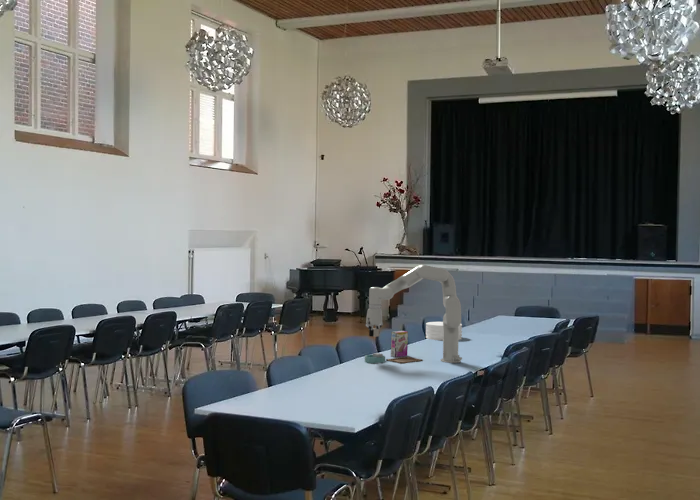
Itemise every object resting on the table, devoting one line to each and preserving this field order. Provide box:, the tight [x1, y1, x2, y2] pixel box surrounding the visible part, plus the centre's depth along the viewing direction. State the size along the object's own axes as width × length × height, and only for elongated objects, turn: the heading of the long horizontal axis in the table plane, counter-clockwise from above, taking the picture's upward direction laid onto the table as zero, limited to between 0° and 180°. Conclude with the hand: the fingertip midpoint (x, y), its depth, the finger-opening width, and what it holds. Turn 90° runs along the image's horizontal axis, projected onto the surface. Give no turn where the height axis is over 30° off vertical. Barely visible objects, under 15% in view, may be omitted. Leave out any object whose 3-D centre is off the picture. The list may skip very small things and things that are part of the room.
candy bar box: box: [390, 330, 409, 358], centre depth 492 cm, size 11×5×16 cm, turn 130°
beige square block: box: [372, 327, 380, 338], centre depth 471 cm, size 4×4×5 cm
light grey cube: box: [372, 352, 384, 357], centre depth 468 cm, size 4×4×5 cm
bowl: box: [364, 354, 386, 364], centre depth 470 cm, size 12×12×4 cm
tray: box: [385, 356, 423, 364], centre depth 473 cm, size 14×18×1 cm
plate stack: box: [425, 321, 463, 341], centre depth 587 cm, size 28×28×12 cm
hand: (374, 335), depth 471 cm, fingers closed on beige square block, 4 cm apart
